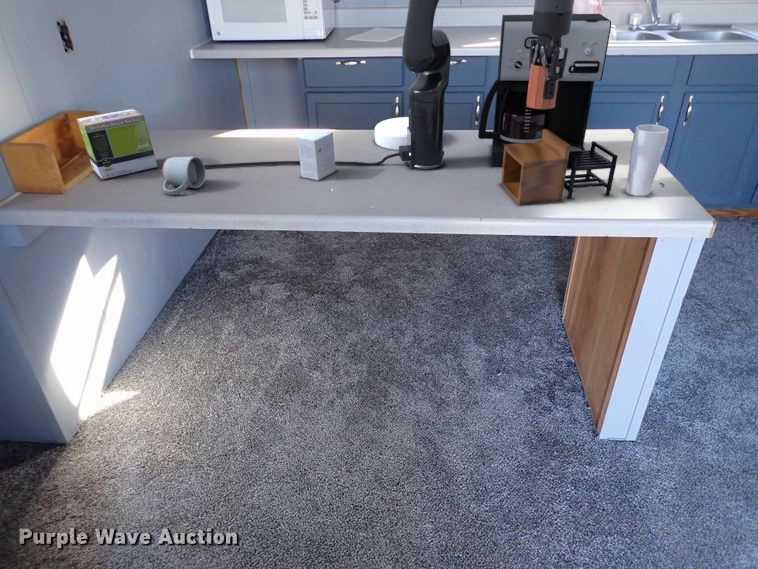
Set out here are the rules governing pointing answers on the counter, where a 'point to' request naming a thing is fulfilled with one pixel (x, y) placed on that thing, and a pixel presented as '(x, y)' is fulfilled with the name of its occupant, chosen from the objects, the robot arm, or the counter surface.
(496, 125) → the coffee maker
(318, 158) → the small box
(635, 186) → the drinking glass
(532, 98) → the cup
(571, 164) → the rack
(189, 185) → the ceramic mug
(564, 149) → the wooden open box
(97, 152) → the tea box
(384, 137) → the container
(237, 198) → the counter surface
